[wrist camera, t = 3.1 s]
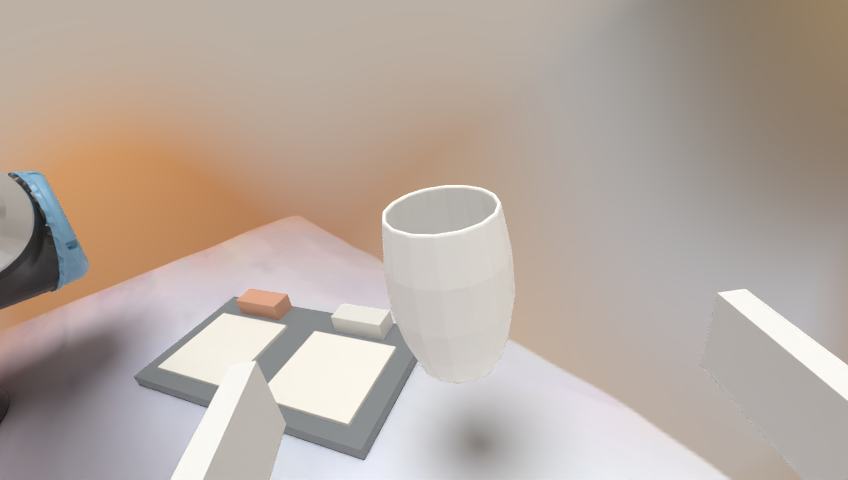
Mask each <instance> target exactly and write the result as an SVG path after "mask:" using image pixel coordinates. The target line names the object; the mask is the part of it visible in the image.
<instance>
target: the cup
mask: <svg viewBox="0 0 848 480" xmlns="http://www.w3.org/2000/svg"><path fill="white" fill-rule="evenodd" d="M382 233H383V255H384V271H385V277H386V282H387V288H388V293H389V299H390V304H391V310H392V313H393V316H394V318H395V320H396V322H397V325H398V327H399V329H400V331H401V334H402V336H403V338H404V341H405V343H406V344H407V345H408V347H409V348H410V350H411V351H412V353H413V354H414V356H415V357H416V359H417V360H418V361H419V363H420V364H421V366H422V367H423V369H424V370H425V371H426V373H427V374H429V375H430V376H432V377H434V378H436V379H438V380H439V381H443V382H449V383H456V384H459V383H465V382H471V381H476V380H478V379H480V378H481V377H483V376H485V375H487V374H489V373H490V372H491V371H492V370H493V369H494V367H495V366H496V365H497V364H498V363H499V361H500V358H501V355H502V353H503V350H504V347H505V345H506V342H507V339H508V334H509V329H510V322H511V316H512V310H513V302H514V296H515V283H514V271H513V260H512V249H511V244H510V240H509V235H508V231H507V226H506V222H505V218H504V213H503V209H502V205H501V203H500V201H499V200H498V198H497V196H496V195H495V194H494V193H492V192H490V191H487V190H485V189H483V188H479V187H472V186H467V185H446V186H445V185H444V186H439V187H432V188H426V189H422V190H419V191H416V192H413V193H410V194H406V195H404V196H403V197H401V198H399V199H397V200H395V201H394V202H392V203H391V204H390V205H389V206H388V207H387V208H386V209H385V210H384V211H383V215H382Z"/></svg>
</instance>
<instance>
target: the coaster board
mask: <svg viewBox="0 0 848 480" xmlns="http://www.w3.org/2000/svg"><path fill="white" fill-rule="evenodd" d="M250 361H257V363H258V365H259V367H260V369H261V371H262V373H263V375H264V377H265V380H266V382H267V384H268V386H269V388H270V390H271V392H272V394H273V397H274V399H275V401H276V403H277V405H278V407H279V409H280V411H281V414H282V416H283V418H284V420H285V422H286V426H285V430H284V433H285V434H288V435H291V436H294V437H297V438H300V439H303V440H306V441H309V442H312V443H315V444H318V445H321V446H324V447H327V448H330V449H333V450H336V451H339V452H342V453H345V454H348V455H351V456H354V457H357V458H360V459H363V460H364V459H365V457H366V456H367V454H368V452H369V450H370V448H371V446H372V444H373V443H374V441H375V439H376V437H377V435H378V433H379V431H380V429H381V428H382V426H383V424H384V422H385V420H386V418H387V416H388V414H389V413H390V411H391V409H392V407H393V405H394V403H395V401H396V399H397V398H398V396H399V394H400V392H401V390H402V388H403V386H404V385H405V383H406V381H407V379H408V377H409V375H410V373H411V371H412V370H413V368H414V366H415V364H416V362H417V359H416V357H415V356H414V354H413V353H412V351H411V350H410V348H409V347H408V345H407V344H406V343H405V341H404V338H403V336H402V334H401V331H400V329H399V327H398V325H397V324H393V322H392V317H391V313H390V310H384V309H377V308H371V307H365V306H358V305H352V304H345V303H342V305H341V306H340V307H339V308H338V309H337V310H336V311H335V313H328V312H322V311H316V310H310V309H305V308H299V307H293V306H291V303H290V300H289V298H288V295H287V294H281V293H275V292H268V291H262V290H255V289H249V290H248V291H247V292H246V293H244V294H243V295H242V296H241V297H233V298H232V299H231V300H229V301H228V302H227V303H226V304H224V305H223V306H222V307H221V308H219V309H218V310H217V311H216V312H214V313H213V314H212V315H211V316H209V317H208V318H207V319H206V320H204V321H203V322H202V323H201V324H199V325H198V326H197V327H195V328H194V329H193V330H192V331H190V332H189V333H188V334H187V335H185V336H184V337H183V338H182V339H180V340H179V341H178V342H177V343H175V344H174V345H173V346H172V347H170V348H169V349H168V350H167V351H165V352H164V353H163V354H162V355H160V356H159V357H158V358H157V359H155V360H154V361H153V362H152V363H150V364H149V365H148V366H147V367H145V368H144V369H143V370H142V371H140V372H139V373H138V374H137V375H135V376H134V377H135V379H136V380H137V382H138V383H139V385H142V386H145V387H148V388H151V389H154V390H157V391H160V392H163V393H166V394H169V395H172V396H175V397H178V398H181V399H184V400H187V401H190V402H193V403H196V404H199V405H202V406H205V407H209V405H210V403H211V401H212V399H213V397H214V395H215V393H216V391H217V389H218V388H219V386H220V384H221V382H222V380H223V378H224V376H225V374H226V372H227V370H228V368H229V367H230V365H231V364H237V363H244V362H250Z"/></svg>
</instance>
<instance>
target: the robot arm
mask: <svg viewBox="0 0 848 480" xmlns="http://www.w3.org/2000/svg"><path fill="white" fill-rule="evenodd" d="M88 270H89V262H88V260H87V257H86V255H85V253H84V251H83V249H82V247H81V246H80V244H79V242H78V240H77V238H76V235H75V234H74V232H73V229H72V228H71V226H70V223H69V222H68V219H67V218H66V216H65V214H64V212H63V210H62V208H61V206H60V204H59V202H58V200H57V198H56V197H55V194H54V193H53V191H52V189H51V187H50V185H49V183H48V182H47V180H46V179H45V177H44V175H43V174H41V173H40V172H37V171H26V172H19V171H14V172H11V173H9V174H8V175H6V174H5V173H3V172H2V171H0V309H3V308H6V307H9V306H11V305H14V304H17V303H19V302H22V301H25V300H27V299H30V298H33V297H35V296H38V295H40V294H43V293H46V292H48V291H52V292H53V291H56V290H59V289H60V288H62V287H63V286H64V285H66V284H69V283H71V282H73V281H75V280H78V279H80V278H82V277H83V276H84V275H86V273H87V272H88ZM700 365H701V367H702V368H703V369H704V370H705V371H706V372H707V374H708V375H709V376H710V377H711V378H712V379H713V380H714V381H715V382H716V384H717V385H718V386H719V387H720V388H721V389H722V390H723V391H724V392H725V394H726V395H727V396H728V397H729V398H730V399H731V400H732V402H733V403H734V404H735V405H736V406H737V407H738V408H739V409H740V410H741V412H742V413H743V414H744V415H745V416H746V417H747V418H748V419H749V421H750V422H751V423H752V424H753V425H754V426H755V427H756V428H757V430H758V431H759V432H760V433H761V434H762V435H763V436H764V437H765V438H766V440H767V441H768V442H769V443H770V444H771V445H772V446H773V447H774V449H775V450H776V451H777V452H778V453H779V454H780V455H781V456H782V458H783V459H784V460H785V461H786V462H787V463H788V464H789V465H790V466H791V467H792V469H793V470H794V471H795V472H796V473H797V474H798V475H799V477H800V478H801V479H802V480H848V365H846V364H845V363H843V362H842V361H841V360H839V359H838V358H837V357H836V356H834V355H833V354H832V353H830V352H829V351H828V350H826V349H825V348H823V347H822V346H821V345H819V344H818V343H817V342H816V341H814V340H813V339H812V338H810V337H809V336H808V335H806V334H805V333H803V332H802V331H801V330H800V329H798V328H797V327H795V326H794V325H793V324H792V323H790V322H789V321H788V320H786V319H785V318H784V317H782V316H781V315H779V314H778V313H777V312H776V311H774V310H773V309H771V308H770V307H769V306H768V305H766V304H765V303H763V302H762V301H761V300H759V299H758V298H757V297H755V296H754V295H753V294H751V293H750V292H749V291H747V290H746V289H741V290H734V291H728V292H720V293H717V297H716V300H715V305H714V309H713V313H712V317H711V321H710V325H709V329H708V334H707V338H706V342H705V346H704V351H703V354H702V359H701V363H700ZM8 404H9V399H8V396H7V394H6V393H5V392H4V391H3V390H2V389H1V388H0V421H1V419H2V418H3V416H4V414H5V412H6V410H7V408H8ZM285 426H286V422H285V420H284V418H283V416H282V414H281V411H280V409H279V407H278V405H277V403H276V401H275V399H274V397H273V394H272V392H271V390H270V388H269V386H268V384H267V382H266V380H265V377H264V375H263V373H262V371H261V369H260V367H259V365H258V363H257V361H250V362H244V363H237V364H231V365H230V367H229V368H228V370H227V372H226V374H225V376H224V378H223V380H222V382H221V384H220V386H219V388H218V389H217V391H216V393H215V395H214V397H213V399H212V401H211V403H210V405H209V407H208V409H207V410H206V412H205V414H204V416H203V418H202V420H201V422H200V424H199V426H198V428H197V430H196V431H195V433H194V435H193V437H192V439H191V441H190V443H189V445H188V447H187V449H186V451H185V452H184V454H183V456H182V458H181V460H180V462H179V464H178V466H177V468H176V470H175V472H174V473H173V475H172V477H171V479H170V480H269V479H270V476H271V473H272V469H273V466H274V463H275V459H276V456H277V453H278V449H279V446H280V443H281V439H282V436H283V433H284V430H285Z"/></svg>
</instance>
